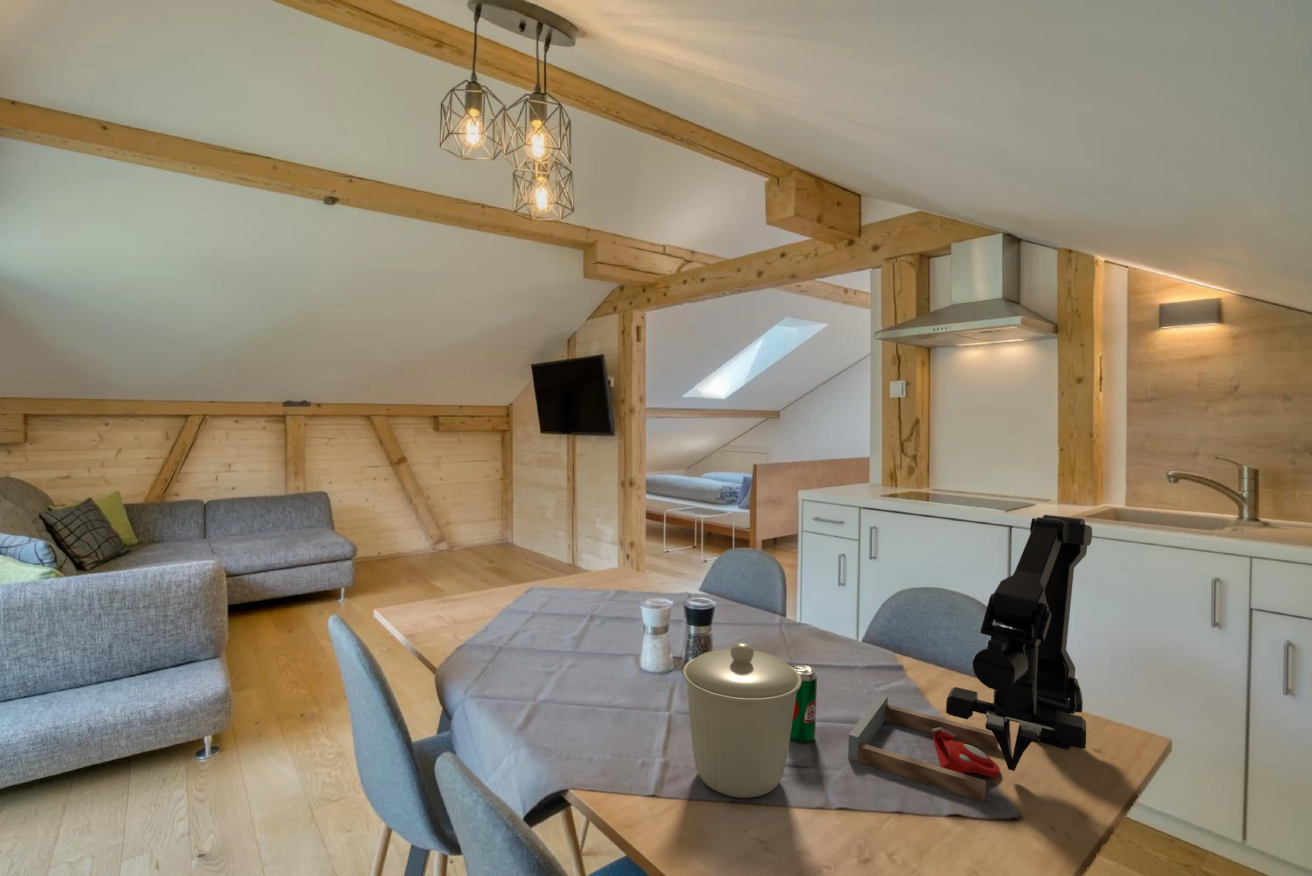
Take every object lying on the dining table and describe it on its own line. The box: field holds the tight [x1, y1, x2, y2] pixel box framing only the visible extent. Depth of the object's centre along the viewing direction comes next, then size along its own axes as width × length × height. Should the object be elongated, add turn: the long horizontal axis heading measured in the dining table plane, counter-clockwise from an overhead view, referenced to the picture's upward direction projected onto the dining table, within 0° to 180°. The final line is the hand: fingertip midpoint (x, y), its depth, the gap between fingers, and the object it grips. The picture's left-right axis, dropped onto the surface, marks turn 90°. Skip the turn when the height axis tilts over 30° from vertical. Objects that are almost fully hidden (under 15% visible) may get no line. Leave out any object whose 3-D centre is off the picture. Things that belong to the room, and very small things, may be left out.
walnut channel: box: [856, 704, 999, 803], centre depth 106 cm, size 18×19×2 cm
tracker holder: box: [932, 727, 1001, 778], centre depth 103 cm, size 12×4×10 cm
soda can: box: [790, 664, 818, 744], centre depth 110 cm, size 5×5×12 cm
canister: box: [682, 641, 802, 799], centre depth 97 cm, size 18×18×21 cm
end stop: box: [847, 694, 889, 762], centre depth 111 cm, size 2×19×4 cm, turn 146°
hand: (1011, 769), depth 99 cm, fingers closed
